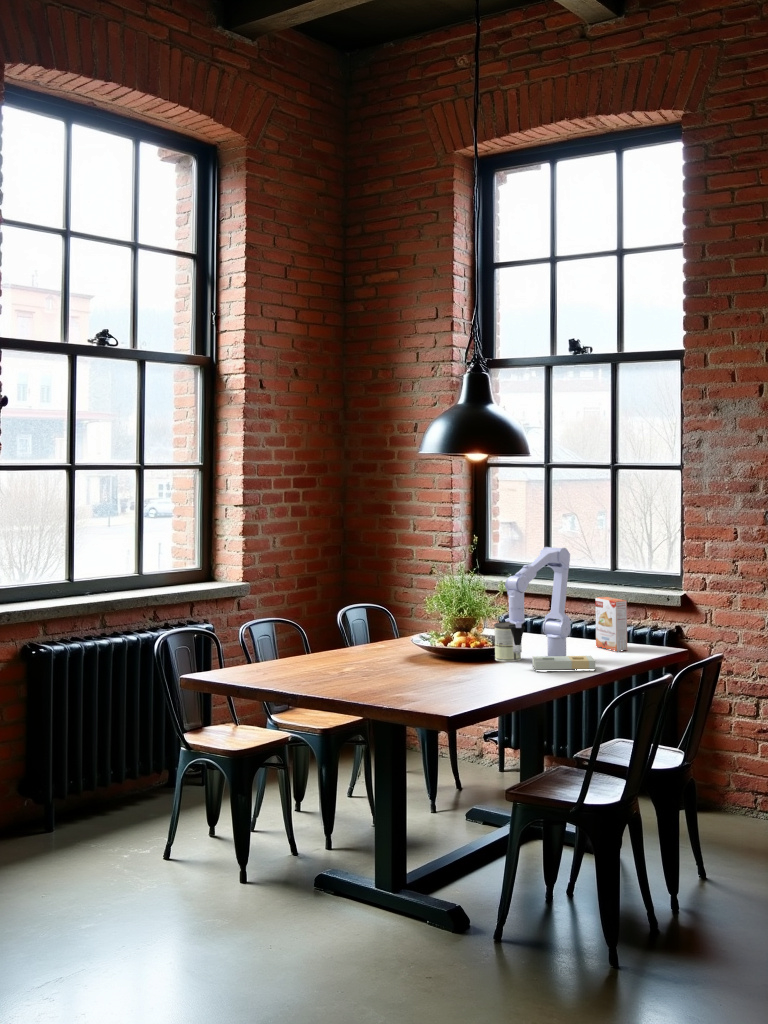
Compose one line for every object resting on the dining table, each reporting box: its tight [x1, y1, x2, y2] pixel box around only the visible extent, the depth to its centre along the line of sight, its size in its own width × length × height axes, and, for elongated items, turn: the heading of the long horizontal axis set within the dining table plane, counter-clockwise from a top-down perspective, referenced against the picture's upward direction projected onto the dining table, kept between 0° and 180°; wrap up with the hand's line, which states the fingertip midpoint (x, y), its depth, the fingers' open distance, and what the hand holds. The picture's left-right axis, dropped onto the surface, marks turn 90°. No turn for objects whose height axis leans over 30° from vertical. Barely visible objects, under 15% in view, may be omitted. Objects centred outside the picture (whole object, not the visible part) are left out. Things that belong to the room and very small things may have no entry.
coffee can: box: [493, 621, 522, 663], centre depth 426 cm, size 10×10×14 cm
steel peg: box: [513, 639, 523, 653], centre depth 407 cm, size 3×3×8 cm
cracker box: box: [594, 596, 628, 652], centre depth 445 cm, size 14×6×21 cm, turn 25°
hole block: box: [532, 655, 596, 671], centre depth 405 cm, size 10×22×4 cm, turn 88°
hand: (517, 644), depth 407 cm, fingers closed on steel peg, 3 cm apart
